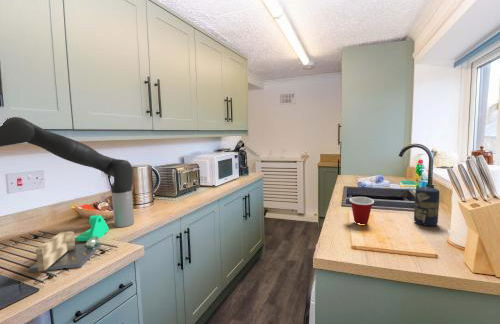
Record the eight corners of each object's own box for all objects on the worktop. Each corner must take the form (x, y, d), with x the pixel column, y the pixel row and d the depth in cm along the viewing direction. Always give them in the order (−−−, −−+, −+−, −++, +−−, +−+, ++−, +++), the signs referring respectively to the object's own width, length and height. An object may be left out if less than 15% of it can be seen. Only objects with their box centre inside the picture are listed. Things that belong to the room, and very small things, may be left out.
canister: (409, 222, 128) (410, 185, 126) (421, 219, 133) (422, 183, 131) (430, 228, 120) (432, 189, 118) (442, 224, 124) (444, 187, 122)
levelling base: (58, 249, 107) (57, 238, 107) (100, 245, 110) (99, 235, 109) (29, 272, 90) (27, 259, 89) (81, 267, 92) (79, 255, 92)
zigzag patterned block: (64, 246, 105) (62, 228, 104) (77, 245, 106) (75, 227, 105) (32, 271, 86) (30, 249, 85) (49, 270, 87) (47, 248, 86)
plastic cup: (349, 226, 125) (350, 201, 123) (348, 219, 135) (348, 196, 134) (375, 228, 122) (375, 203, 120) (371, 220, 132) (372, 197, 130)
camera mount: (93, 232, 126) (91, 211, 124) (109, 232, 125) (107, 211, 124) (75, 243, 114) (72, 220, 113) (92, 243, 113) (90, 220, 112)
